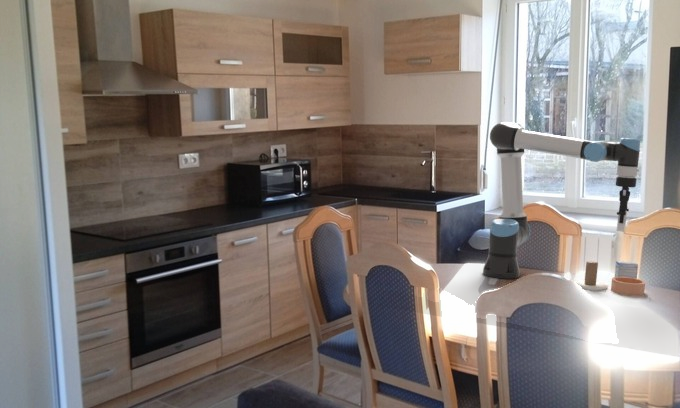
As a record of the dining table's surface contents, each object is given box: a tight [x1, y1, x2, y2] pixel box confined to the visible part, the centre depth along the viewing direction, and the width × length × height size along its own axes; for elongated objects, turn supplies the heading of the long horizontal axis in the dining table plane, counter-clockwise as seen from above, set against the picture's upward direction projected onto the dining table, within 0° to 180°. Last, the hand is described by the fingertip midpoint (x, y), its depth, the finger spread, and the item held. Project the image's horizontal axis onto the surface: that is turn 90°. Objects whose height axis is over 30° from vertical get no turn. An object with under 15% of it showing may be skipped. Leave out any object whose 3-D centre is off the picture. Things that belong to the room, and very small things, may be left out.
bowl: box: [610, 276, 646, 296], centre depth 272 cm, size 12×12×5 cm
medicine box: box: [614, 260, 639, 279], centre depth 290 cm, size 8×4×9 cm, turn 84°
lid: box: [575, 260, 608, 291], centre depth 278 cm, size 13×13×10 cm
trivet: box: [585, 284, 610, 293], centre depth 279 cm, size 13×13×1 cm
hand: (621, 229), depth 281 cm, fingers open, 13 cm apart
